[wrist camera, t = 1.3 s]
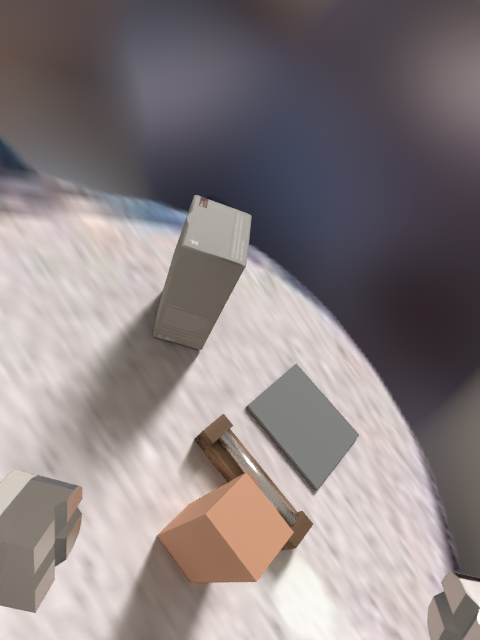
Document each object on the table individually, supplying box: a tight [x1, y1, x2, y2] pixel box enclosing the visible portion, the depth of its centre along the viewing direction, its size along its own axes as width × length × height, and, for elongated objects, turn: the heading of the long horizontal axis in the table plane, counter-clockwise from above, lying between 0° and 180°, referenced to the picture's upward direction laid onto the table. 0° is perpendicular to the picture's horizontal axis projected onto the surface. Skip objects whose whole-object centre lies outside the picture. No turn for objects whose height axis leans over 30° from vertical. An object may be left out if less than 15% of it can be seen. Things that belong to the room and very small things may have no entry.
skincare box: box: [152, 195, 251, 350], centre depth 43 cm, size 8×7×16 cm
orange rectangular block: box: [157, 473, 294, 583], centre depth 31 cm, size 5×4×14 cm
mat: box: [246, 364, 359, 490], centre depth 48 cm, size 12×10×1 cm
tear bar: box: [195, 414, 313, 550], centre depth 40 cm, size 14×3×3 cm, turn 45°
